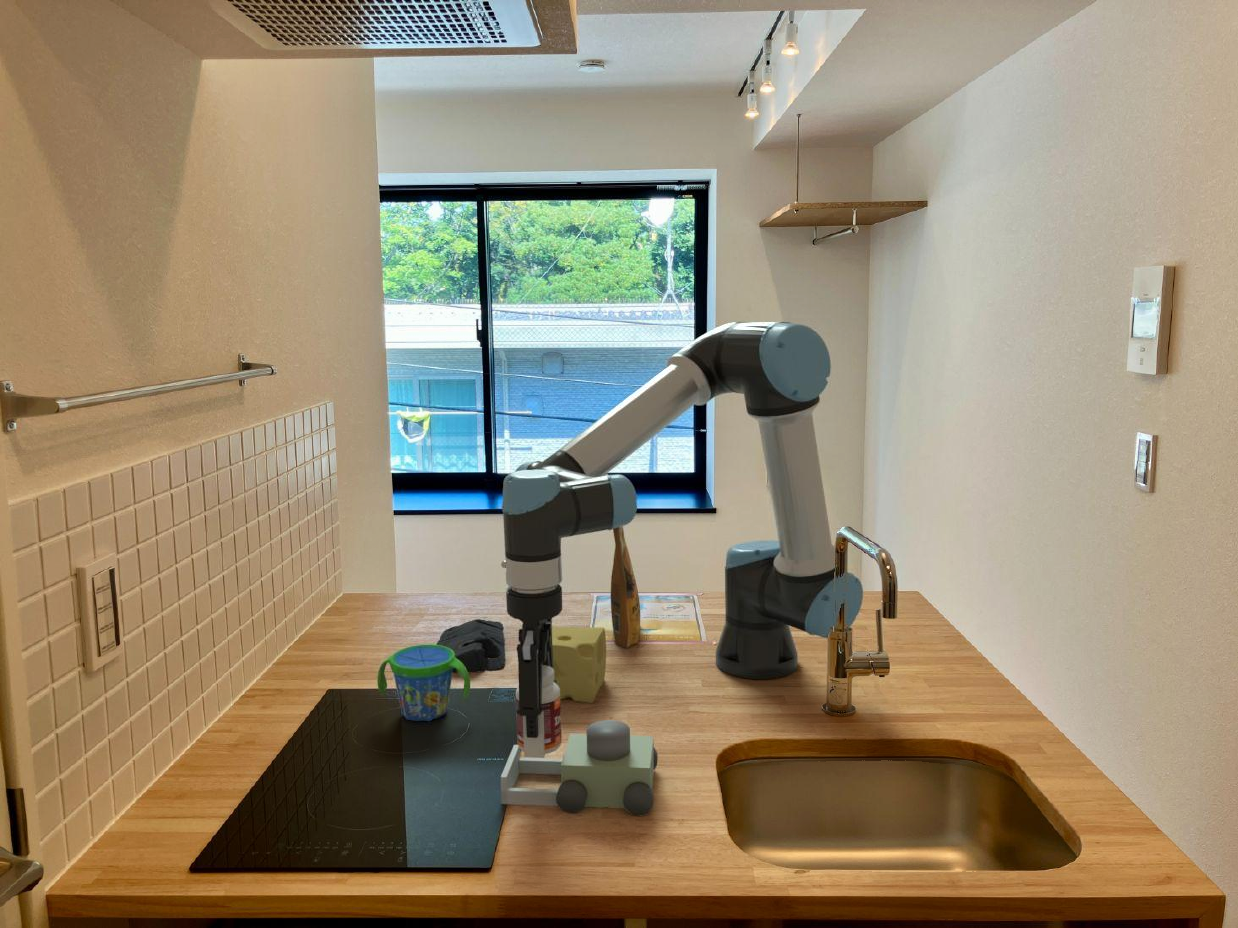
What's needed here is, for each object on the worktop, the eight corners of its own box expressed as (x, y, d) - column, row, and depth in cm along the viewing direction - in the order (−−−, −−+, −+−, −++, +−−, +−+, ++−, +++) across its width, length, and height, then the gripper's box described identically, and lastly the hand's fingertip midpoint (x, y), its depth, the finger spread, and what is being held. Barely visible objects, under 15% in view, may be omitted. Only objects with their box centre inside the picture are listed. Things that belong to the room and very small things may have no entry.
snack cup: (482, 705, 155) (479, 648, 153) (452, 733, 145) (449, 673, 144) (400, 694, 160) (397, 639, 158) (367, 721, 150) (363, 662, 148)
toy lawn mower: (657, 768, 134) (657, 711, 132) (653, 816, 121) (652, 753, 120) (517, 764, 135) (515, 707, 134) (499, 810, 123) (496, 748, 122)
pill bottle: (565, 753, 126) (563, 677, 124) (520, 759, 124) (517, 682, 122) (558, 732, 132) (555, 660, 129) (515, 738, 130) (511, 665, 128)
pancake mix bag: (604, 651, 178) (602, 511, 173) (609, 617, 197) (607, 490, 192) (639, 651, 178) (637, 511, 173) (641, 617, 196) (639, 489, 191)
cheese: (594, 704, 155) (593, 648, 153) (533, 699, 157) (531, 644, 156) (607, 679, 165) (606, 626, 164) (550, 675, 167) (548, 623, 166)
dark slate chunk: (514, 631, 191) (513, 610, 190) (503, 675, 169) (502, 650, 168) (440, 633, 190) (439, 611, 190) (420, 676, 169) (418, 652, 168)
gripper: (520, 564, 133) (525, 712, 138) (490, 608, 115) (497, 778, 119) (571, 564, 133) (575, 713, 137) (549, 609, 114) (554, 780, 118)
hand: (538, 743), depth 128 cm, fingers closed on pill bottle, 6 cm apart
